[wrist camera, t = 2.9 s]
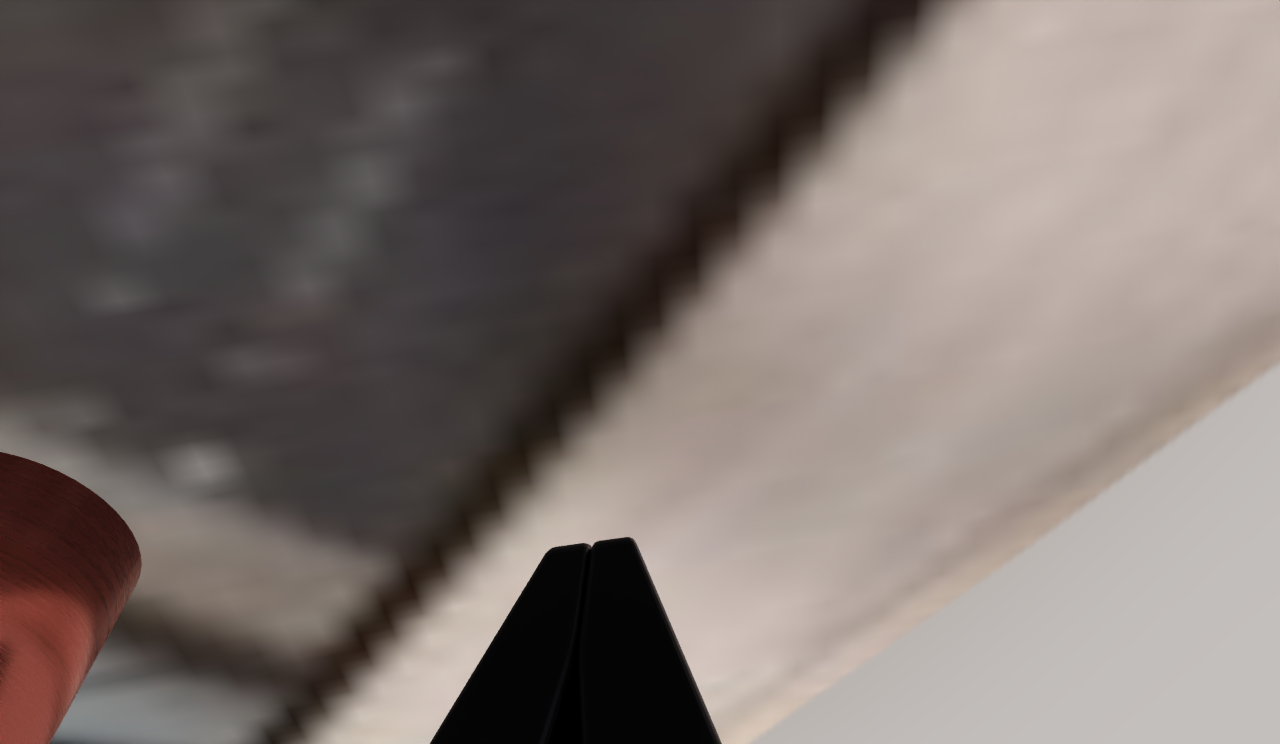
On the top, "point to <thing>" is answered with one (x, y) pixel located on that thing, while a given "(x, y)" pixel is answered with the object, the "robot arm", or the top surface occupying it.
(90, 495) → the lever
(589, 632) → the robot arm
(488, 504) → the top surface
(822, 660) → the top surface
